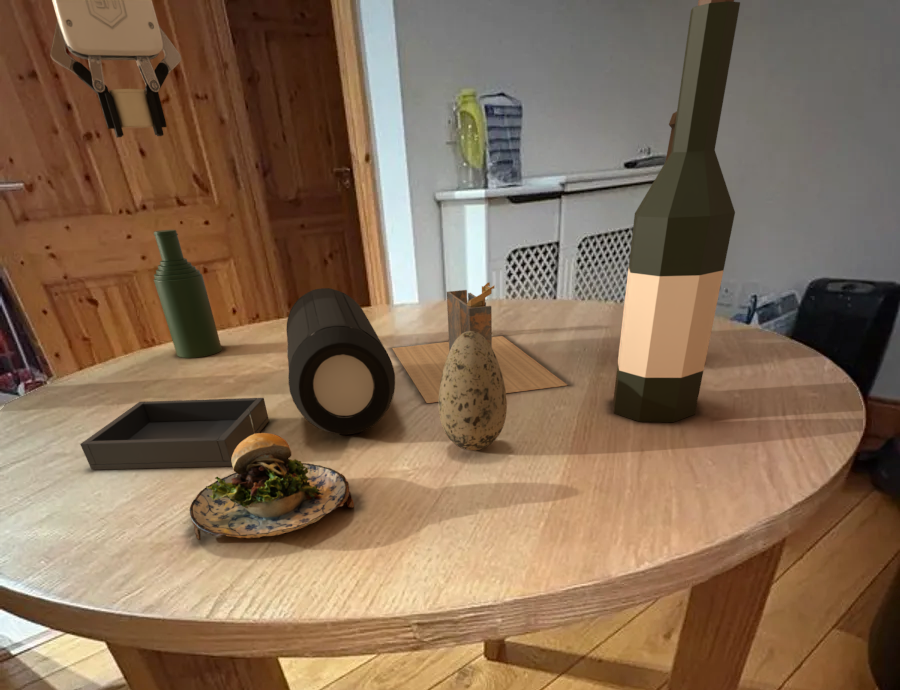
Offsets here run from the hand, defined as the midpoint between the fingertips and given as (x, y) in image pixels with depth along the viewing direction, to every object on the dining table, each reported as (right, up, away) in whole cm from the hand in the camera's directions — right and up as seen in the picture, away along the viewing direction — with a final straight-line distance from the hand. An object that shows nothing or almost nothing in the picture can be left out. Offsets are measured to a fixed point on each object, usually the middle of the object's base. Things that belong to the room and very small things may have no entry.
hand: (139, 134), depth 72 cm
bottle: (+1, -20, +16) cm, 25 cm away
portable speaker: (+26, -35, -6) cm, 44 cm away
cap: (0, +1, 0) cm, 1 cm away
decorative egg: (+40, -43, -18) cm, 62 cm away
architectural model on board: (+41, -27, +3) cm, 49 cm away
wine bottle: (+59, -38, -12) cm, 71 cm away
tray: (+12, -42, -14) cm, 45 cm away
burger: (+25, -51, -27) cm, 62 cm away
